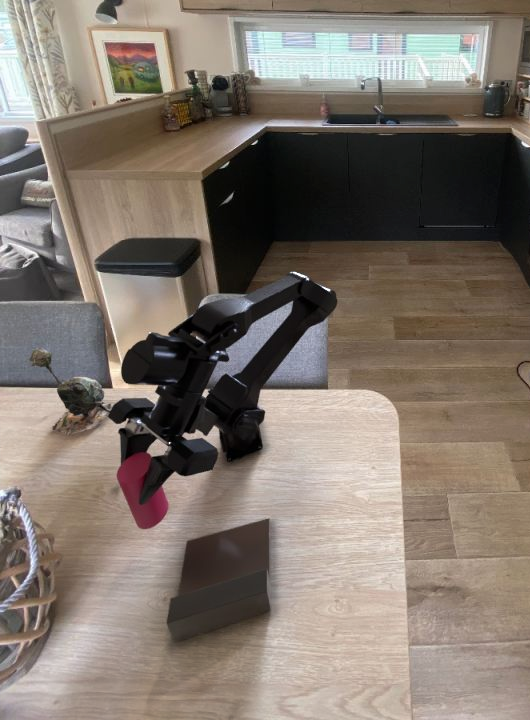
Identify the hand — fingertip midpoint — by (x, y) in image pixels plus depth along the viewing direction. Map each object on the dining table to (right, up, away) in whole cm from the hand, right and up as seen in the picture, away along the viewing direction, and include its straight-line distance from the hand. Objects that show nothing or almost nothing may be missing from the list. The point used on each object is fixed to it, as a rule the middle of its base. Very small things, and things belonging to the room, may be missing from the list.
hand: (132, 495), depth 56 cm
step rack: (+14, -12, 0) cm, 18 cm away
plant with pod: (-24, -2, +23) cm, 33 cm away
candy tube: (+1, -6, +4) cm, 7 cm away
